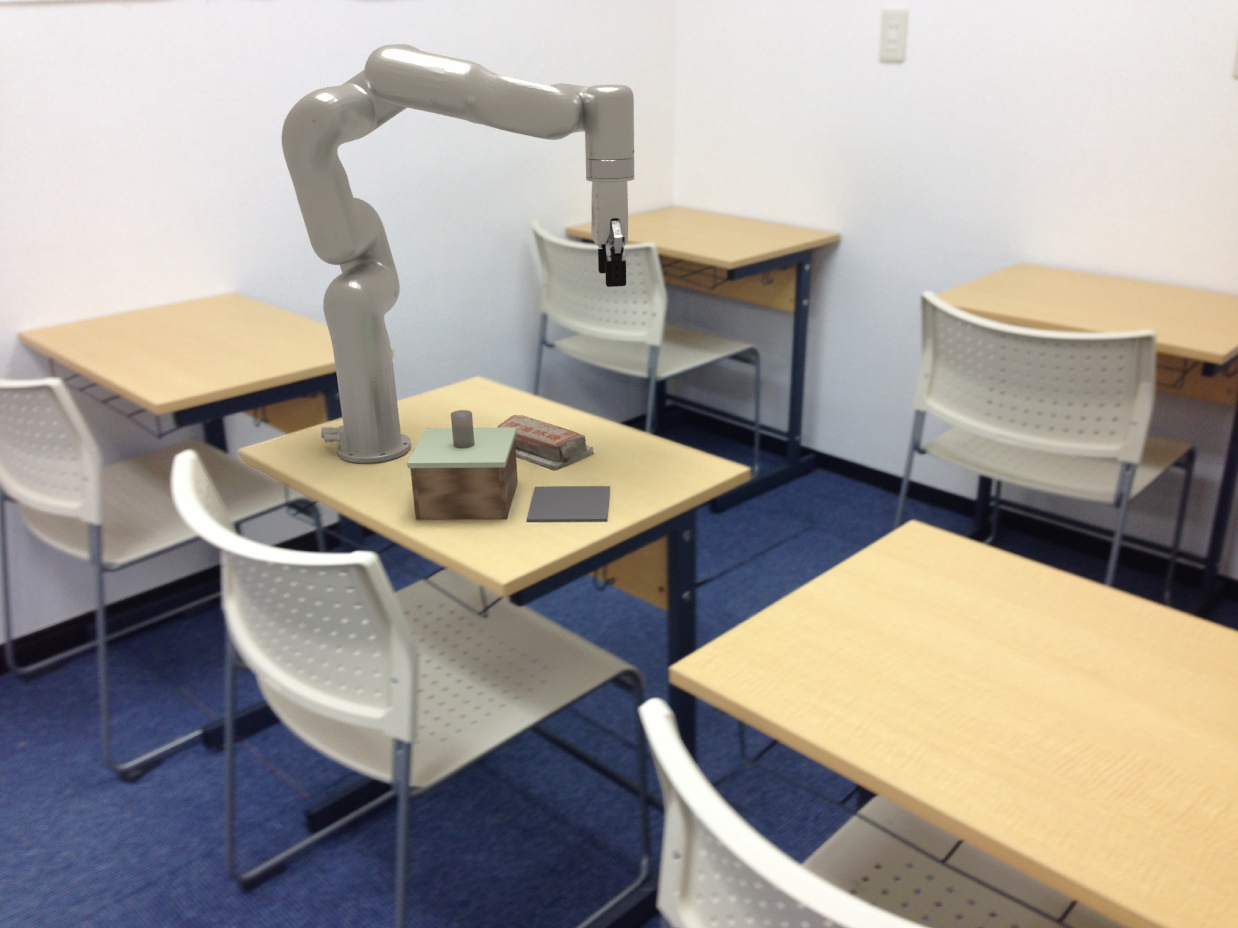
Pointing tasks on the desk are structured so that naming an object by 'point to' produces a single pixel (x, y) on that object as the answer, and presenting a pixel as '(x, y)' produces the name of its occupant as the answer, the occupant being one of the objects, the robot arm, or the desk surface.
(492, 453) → the lid
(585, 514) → the mat
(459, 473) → the box
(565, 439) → the packaged product
